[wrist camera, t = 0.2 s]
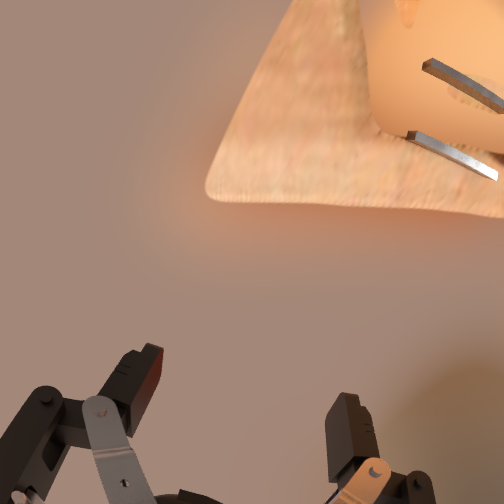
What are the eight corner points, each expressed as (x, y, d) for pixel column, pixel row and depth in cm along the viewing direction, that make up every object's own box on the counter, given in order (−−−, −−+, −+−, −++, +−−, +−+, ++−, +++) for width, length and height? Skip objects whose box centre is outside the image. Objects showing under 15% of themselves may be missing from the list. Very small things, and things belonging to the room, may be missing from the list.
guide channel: (423, 62, 30) (432, 57, 28) (500, 106, 30) (512, 106, 27) (405, 139, 34) (414, 139, 32) (484, 177, 34) (496, 180, 31)
